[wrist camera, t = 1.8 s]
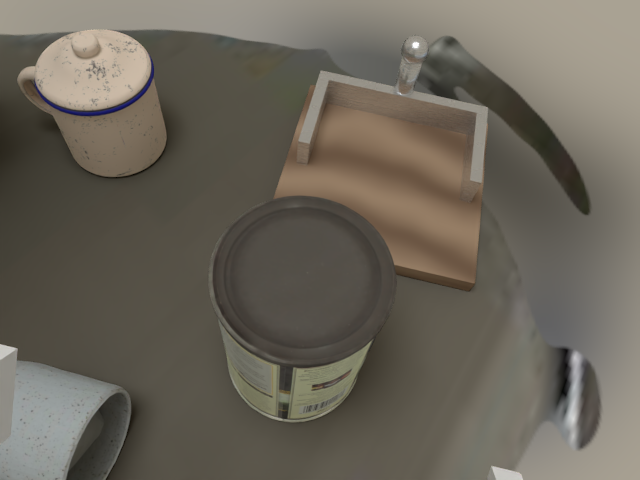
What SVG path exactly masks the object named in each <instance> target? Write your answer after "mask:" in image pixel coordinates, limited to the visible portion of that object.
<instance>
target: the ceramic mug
mask: <svg viewBox="0 0 640 480" xmlns="http://www.w3.org/2000/svg"><path fill="white" fill-rule="evenodd" d="M130 415H131V400H130V396H129V394H128V392H127V391H126V390H125V389H124V388H122V387H120V386H118V385H114V384H110V383H106V382H102V381H99V380H96V379H93V378H89V377H86V376H83V375H79V374H75V373H72V372H68V371H64V370H60V369H57V368H54V367H51V366H48V365H45V364H41V363H36V362H28V361H17V362H16V375H15V387H14V400H13V412H12V424H11V435H10V436H9V437H8V438H7V439H6V440H5V441H4V442H2V443H1V444H0V480H106V478H107V476H108V474H109V472H110V470H111V469H112V467H113V465H114V464H115V462H116V459H117V457H118V455H119V452H120V450H121V448H122V446H123V442H124V439H125V437H126V434H127V429H128V426H129V422H130Z"/></svg>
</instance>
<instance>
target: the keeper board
mask: <svg viewBox="0 0 640 480" xmlns="http://www.w3.org/2000/svg"><path fill="white" fill-rule="evenodd" d="M315 87H316V86H315V85H311V86H310V89H309V92H308V95H307V98H306V101H305V104H304V107H303V110H302V113H301V116H300V119H299V122H298V125H297V128H296V131H295V134H294V137H293V140H292V144H291V147H290V150H289V153H288V156H287V159H286V162H285V165H284V168H283V171H282V174H281V177H280V180H279V183H278V186H277V189H276V192H275V195H274V198H273V199H276V198H281V197H286V196H297V195H300V196H314V197H320V198H325V199H329V200H332V201H335V202H338V203H340V204H342V205H345V206H347V207H348V208H350V209H352V210H354V211H355V212H357V213H358V214H360V215H361V216H362V217H364V218H365V219H366V220H367V221H368V222H369V223H371V224H372V225H373V226H374V227H375V228H376V230H377V231H378V232H379V233H380V235H381V236H382V237H383V239H384V240H385V242H386V244H387V246H388V248H389V250H390V253H391V255H392V258H393V262H394V266H395V271H396V274H398V275H402V276H406V277H410V278H414V279H419V280H423V281H427V282H431V283H436V284H440V285H444V286H448V287H453V288H457V289H461V290H465V291H470V290H471V288H472V287H473V286H474V284H475V277H476V264H477V252H478V240H479V228H480V216H481V204H482V191H483V179H484V167H485V155H486V143H487V130H488V124H487V126H486V138H485V150H484V162H483V174H482V183H481V185H480V187H479V189H478V190H477V192H476V194H475V196H474V197H473V199H472V201H471V203H469V202H465V201H460V200H459V199H460V190H461V181H462V171H463V162H464V153H465V144H466V134H462V133H457V132H453V131H448V130H444V129H439V128H435V127H430V126H426V125H421V124H417V123H413V122H408V121H404V120H399V119H395V118H390V117H386V116H381V115H377V114H372V113H368V112H363V111H359V110H355V109H350V108H346V107H341V106H337V105H332V104H328V103H326V105H325V108H324V112H323V115H322V118H321V122H320V125H319V128H318V132H317V135H316V138H315V142H314V145H313V148H312V152H311V155H310V158H309V162H308V165H303V164H299V163H297V151H298V140H299V137H300V134H301V131H302V128H303V125H304V121H305V118H306V115H307V112H308V109H309V106H310V103H311V100H312V96H313V93H314V90H315Z"/></svg>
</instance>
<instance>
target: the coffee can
mask: <svg viewBox="0 0 640 480" xmlns="http://www.w3.org/2000/svg"><path fill="white" fill-rule="evenodd" d="M396 285H397V281H396V271H395V266H394V262H393V258H392V255H391V253H390V250H389V248H388V246H387V244H386V242H385V240H384V239H383V237H382V236H381V235H380V233H379V232H378V231H377V230H376V228H375V227H374V226H373V225H372V224H371V223H369V222H368V221H367V220H366V219H365V218H364V217H362V216H361V215H360V214H358V213H357V212H355V211H354V210H352V209H350V208H348V207H347V206H345V205H342V204H340V203H338V202H335V201H332V200H329V199H325V198H320V197H314V196H300V195H297V196H286V197H281V198H276V199H272V200H268V201H266V202H263V203H261V204H258V205H256V206H254V207H252V208H251V209H249V210H247V211H246V212H244V213H243V214H241V215H240V216H239V217H238V218H236V219H235V220H234V221H233V222H232V223H231V224H230V225H229V226H228V227H227V229H226V230H225V231H224V232H223V234H222V235H221V237H220V238H219V240H218V242H217V244H216V246H215V248H214V251H213V253H212V257H211V260H210V264H209V271H208V286H209V293H210V297H211V301H212V305H213V307H214V310H215V313H216V315H217V317H218V321H219V325H220V329H221V333H222V338H223V342H224V346H225V350H226V355H227V361H228V369H229V373H230V377H231V380H232V382H233V384H234V387H235V388H236V390H237V392H238V393H239V394H240V396H241V397H242V398H243V399H244V401H245V402H246V403H247V404H248V405H249V406H250V407H251V408H253V409H254V410H256V411H258V412H259V413H260V414H262V415H264V416H267V417H269V418H271V419H274V420H278V421H283V422H305V421H309V420H313V419H316V418H319V417H321V416H323V415H325V414H327V413H329V412H330V411H332V410H333V409H335V408H336V407H337V406H339V405H340V404H341V403H342V402H343V401H344V399H345V398H346V397H347V396H348V395H349V393H350V392H351V390H352V388H353V386H354V384H355V382H356V379H357V376H358V374H359V371H360V369H361V367H362V365H363V363H364V361H365V358H366V356H367V354H368V352H369V351H370V348H371V346H372V344H373V342H374V340H375V338H376V335H377V334H378V333H379V331H380V330H381V328H382V327H383V325H384V324H385V322H386V320H387V318H388V316H389V314H390V312H391V309H392V306H393V303H394V300H395V295H396Z"/></svg>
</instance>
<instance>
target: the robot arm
mask: <svg viewBox="0 0 640 480" xmlns="http://www.w3.org/2000/svg"><path fill="white" fill-rule="evenodd" d="M17 350H18V349H17V348H13V347H9V346H5V345H1V344H0V444H1V443H2V442H4V441H5V440H6V439H7V438H8V437H9V436H10V435H11V424H12V412H13V400H14V387H15V375H16V362H17ZM487 480H523V478H522V476H521V473H518V472H514V471H510V470H506V469H502V468H498V467H494V466H491V469H490V472H489V475H488V478H487Z"/></svg>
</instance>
